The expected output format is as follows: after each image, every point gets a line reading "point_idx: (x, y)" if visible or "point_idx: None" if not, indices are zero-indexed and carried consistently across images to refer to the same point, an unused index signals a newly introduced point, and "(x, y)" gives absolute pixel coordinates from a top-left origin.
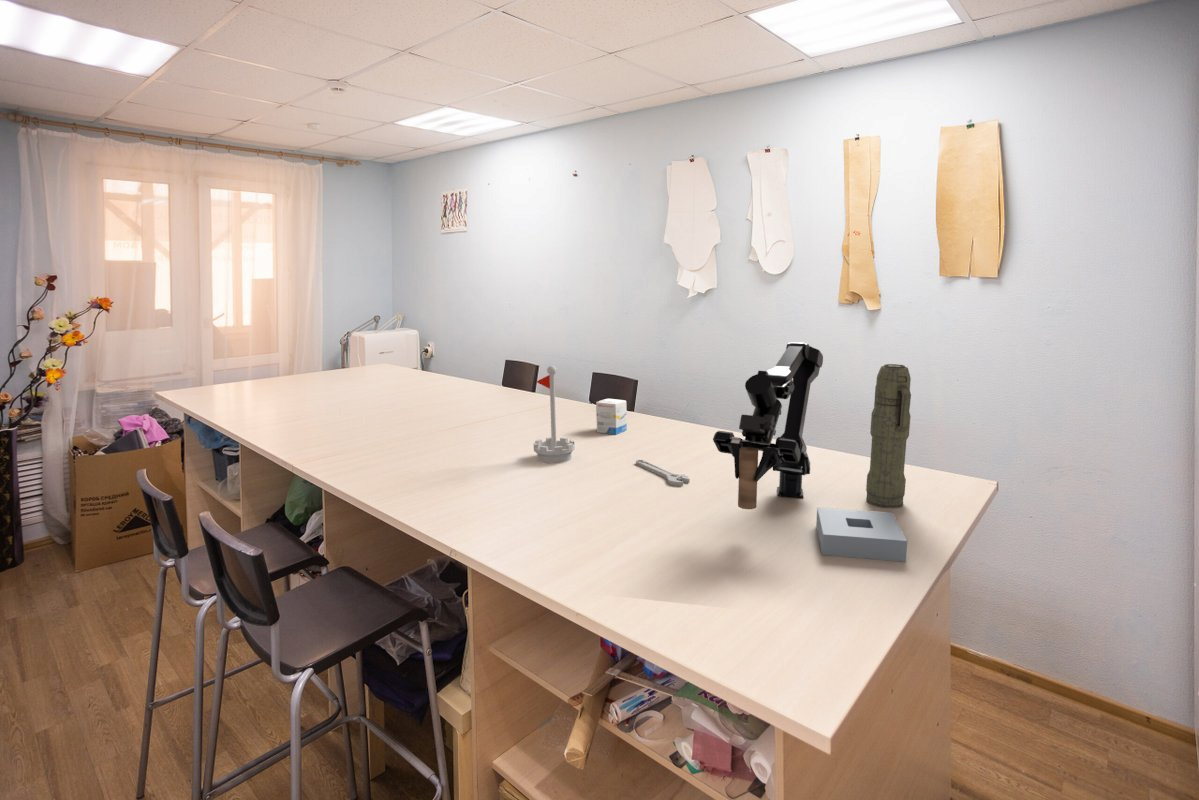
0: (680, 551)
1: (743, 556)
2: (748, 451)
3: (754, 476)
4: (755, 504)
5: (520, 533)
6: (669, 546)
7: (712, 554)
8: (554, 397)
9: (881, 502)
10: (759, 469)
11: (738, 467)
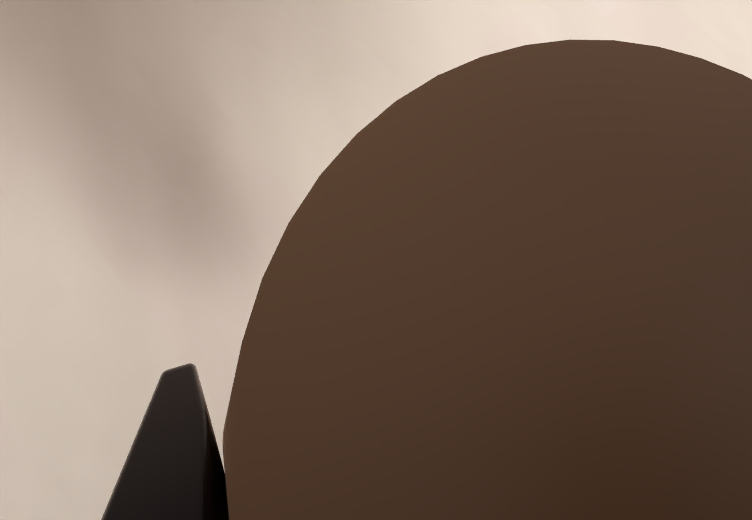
0: (381, 17)
1: (104, 171)
2: (477, 145)
3: (227, 411)
4: (223, 456)
5: None
6: (455, 28)
7: (248, 85)
8: None
9: None
10: (152, 494)
11: None
